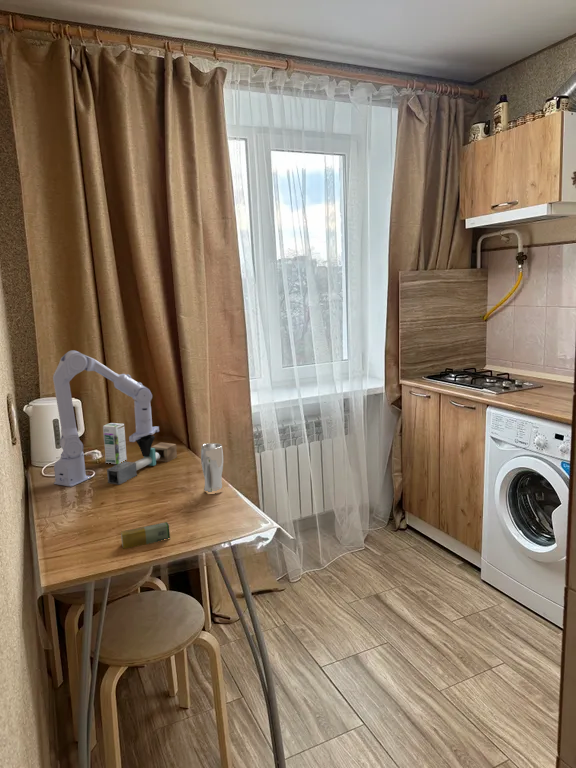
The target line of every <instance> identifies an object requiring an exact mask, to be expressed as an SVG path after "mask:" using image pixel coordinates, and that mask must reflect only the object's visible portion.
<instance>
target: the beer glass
mask: <svg viewBox="0 0 576 768" xmlns="http://www.w3.org/2000/svg"><path fill="white" fill-rule="evenodd" d="M200 462H201V468H202V473H203V477H204V488H203V491H204V490H205V491H208V492H212V491H217V490H219V489H221V488H222V486H223V481H222V479H223V478H222V477H223V469H224V451H223V444H221V443H217V442H209V443H204V444H202V445H201V446H200Z"/></svg>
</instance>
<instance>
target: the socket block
mask: <svg viewBox="0 0 576 768" xmlns="http://www.w3.org/2000/svg"><path fill="white" fill-rule="evenodd" d="M151 448H155V452H157V453H159V455H160V459H159V460H157V461H158V462H164V463H165V462H166V463H169V462H170V461H172V460H174V459H176V458H178V453H177V444H176V443H171V442H169V443H168V442H161V441H160V442H158V443H157V444H154V445H152V446H151ZM157 461H156V462H157Z"/></svg>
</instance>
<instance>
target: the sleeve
mask: <svg viewBox="0 0 576 768" xmlns="http://www.w3.org/2000/svg"><path fill="white" fill-rule="evenodd" d="M134 462H135V461H127V460H126V461H124V462H122V463H120V464H114V465H113V466H111V467H109V468H107V469H106V473H107V475H106V476H107V484H112V485H119V486H121V485H122V484H124V483H126V482H128V481H130V480H132V479H134V478H135V476H136V477H138V474H137V472H138V470H137V471H136V463H134ZM133 477H134V478H133ZM131 478H132V479H131ZM129 479H130V480H129ZM127 480H128V481H127Z"/></svg>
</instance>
